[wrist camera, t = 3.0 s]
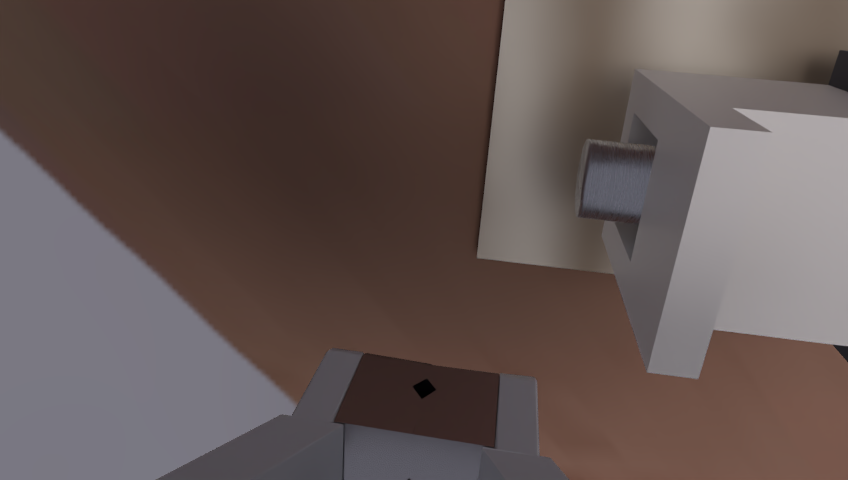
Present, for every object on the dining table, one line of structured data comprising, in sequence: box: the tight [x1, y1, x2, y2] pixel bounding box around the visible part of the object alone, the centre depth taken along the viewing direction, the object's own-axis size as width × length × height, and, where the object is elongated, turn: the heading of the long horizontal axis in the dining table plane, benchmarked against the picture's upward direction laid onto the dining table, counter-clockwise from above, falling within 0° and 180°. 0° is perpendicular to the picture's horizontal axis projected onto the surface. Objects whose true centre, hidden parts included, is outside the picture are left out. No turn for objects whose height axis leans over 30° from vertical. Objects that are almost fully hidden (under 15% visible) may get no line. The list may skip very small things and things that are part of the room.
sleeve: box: [602, 69, 848, 379], centre depth 17 cm, size 6×6×8 cm
